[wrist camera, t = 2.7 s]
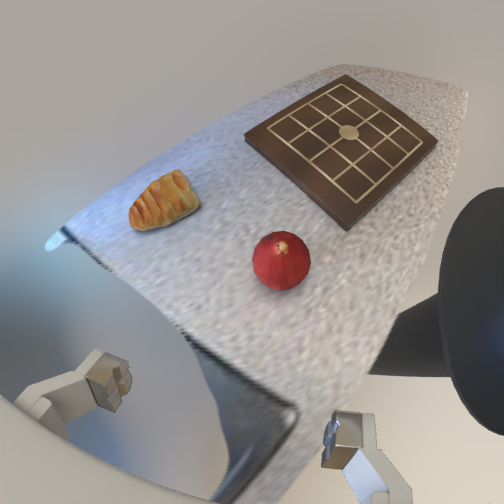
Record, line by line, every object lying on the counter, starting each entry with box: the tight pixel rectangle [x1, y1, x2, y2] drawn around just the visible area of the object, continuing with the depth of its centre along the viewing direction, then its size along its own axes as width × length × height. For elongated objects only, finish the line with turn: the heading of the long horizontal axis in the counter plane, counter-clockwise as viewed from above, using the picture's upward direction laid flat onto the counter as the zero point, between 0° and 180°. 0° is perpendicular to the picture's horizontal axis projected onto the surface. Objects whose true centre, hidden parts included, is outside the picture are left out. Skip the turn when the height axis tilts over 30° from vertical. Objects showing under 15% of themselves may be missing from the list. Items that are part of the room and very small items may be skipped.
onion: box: [252, 231, 311, 290], centre depth 31 cm, size 6×6×8 cm
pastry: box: [129, 170, 200, 231], centre depth 37 cm, size 9×7×4 cm
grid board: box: [244, 74, 438, 231], centre depth 40 cm, size 19×22×2 cm
